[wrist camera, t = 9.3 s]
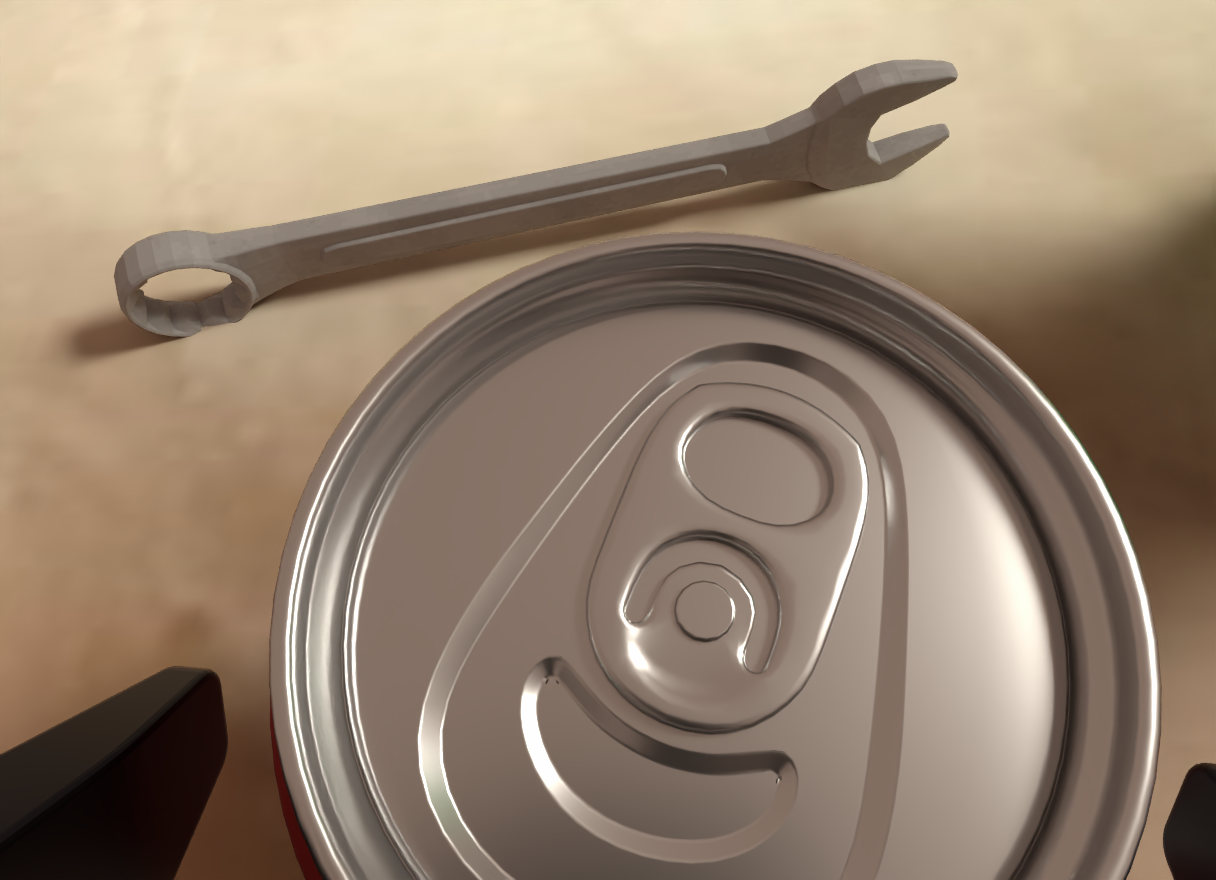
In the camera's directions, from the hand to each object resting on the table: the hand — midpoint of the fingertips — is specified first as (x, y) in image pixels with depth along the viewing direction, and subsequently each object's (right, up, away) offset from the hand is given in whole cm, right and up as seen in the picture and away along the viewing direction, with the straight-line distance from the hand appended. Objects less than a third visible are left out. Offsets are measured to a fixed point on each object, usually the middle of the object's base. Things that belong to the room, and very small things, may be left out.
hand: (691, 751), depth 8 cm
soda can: (0, -3, +9) cm, 9 cm away
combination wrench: (-2, +8, +14) cm, 16 cm away
